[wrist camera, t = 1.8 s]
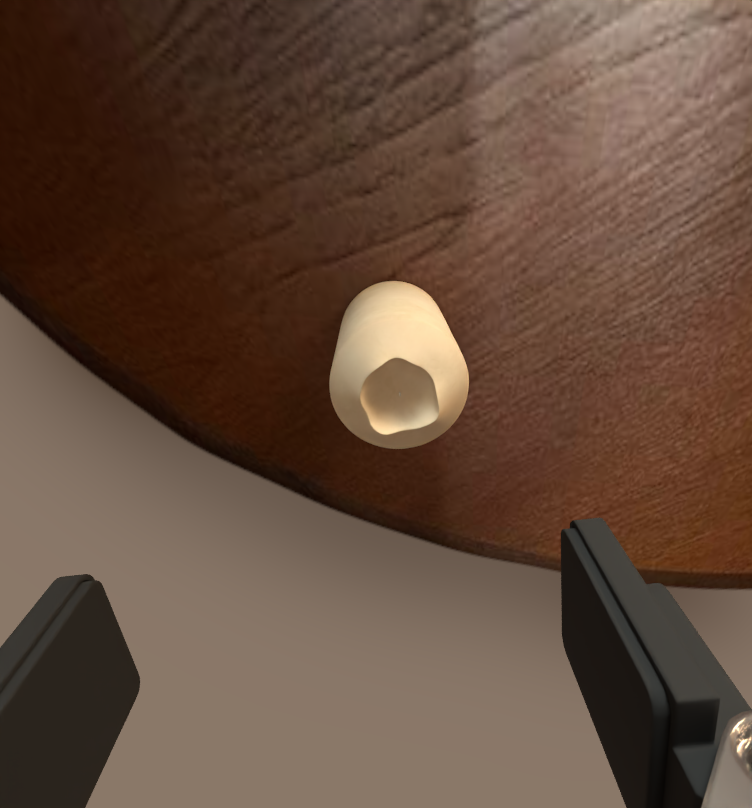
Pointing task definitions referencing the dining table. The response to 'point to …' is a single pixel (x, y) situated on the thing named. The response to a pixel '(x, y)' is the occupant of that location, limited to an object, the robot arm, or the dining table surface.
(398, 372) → the candle
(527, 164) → the dining table surface
